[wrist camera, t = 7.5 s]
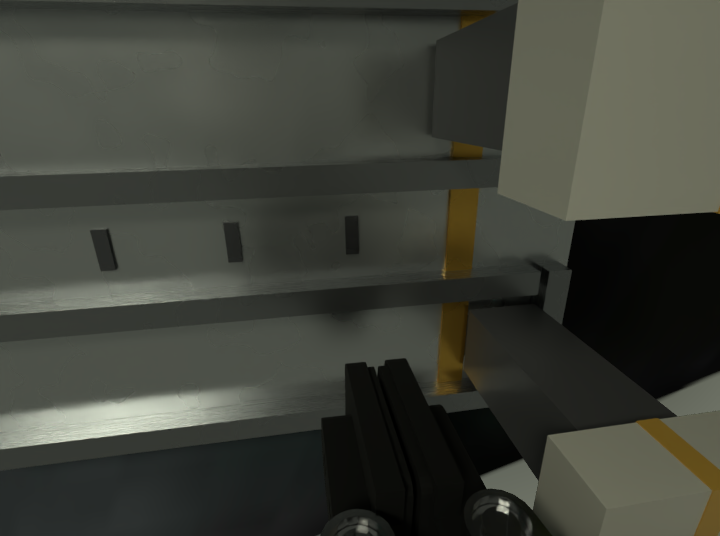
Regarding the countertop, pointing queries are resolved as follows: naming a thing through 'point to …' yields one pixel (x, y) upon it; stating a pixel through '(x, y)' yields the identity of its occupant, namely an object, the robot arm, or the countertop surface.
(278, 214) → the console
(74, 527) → the countertop surface
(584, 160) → the white striped slider handle
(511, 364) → the fader knob
